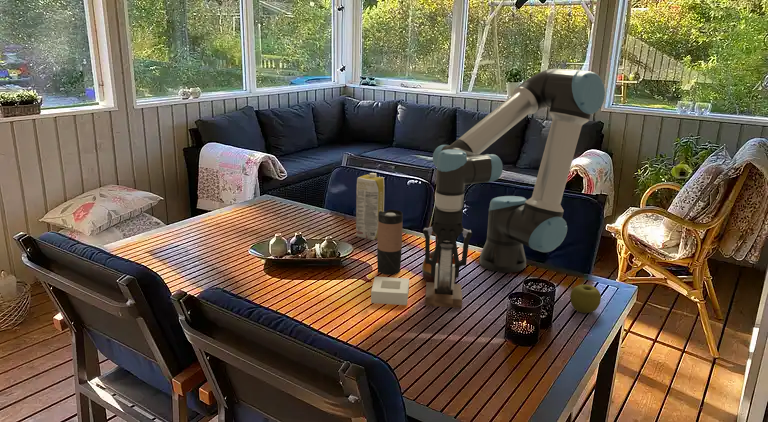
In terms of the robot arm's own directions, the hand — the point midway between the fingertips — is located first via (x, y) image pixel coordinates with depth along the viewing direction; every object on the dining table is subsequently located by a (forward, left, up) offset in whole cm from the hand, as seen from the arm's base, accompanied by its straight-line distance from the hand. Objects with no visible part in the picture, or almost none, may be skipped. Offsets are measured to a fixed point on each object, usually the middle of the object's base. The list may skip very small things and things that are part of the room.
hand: (444, 286), depth 158 cm
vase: (+1, -13, -5) cm, 14 cm away
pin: (0, 0, -4) cm, 4 cm away
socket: (+15, 0, -5) cm, 16 cm away
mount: (0, 0, -5) cm, 5 cm away
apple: (-39, 0, -5) cm, 39 cm away
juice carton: (+27, -51, -5) cm, 58 cm away
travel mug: (+17, -18, -5) cm, 25 cm away
